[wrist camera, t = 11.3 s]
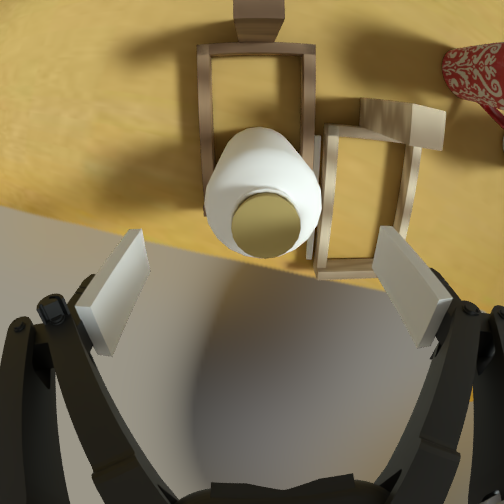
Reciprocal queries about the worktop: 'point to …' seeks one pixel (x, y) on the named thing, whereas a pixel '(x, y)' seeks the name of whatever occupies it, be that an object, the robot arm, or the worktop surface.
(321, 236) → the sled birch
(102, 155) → the worktop surface
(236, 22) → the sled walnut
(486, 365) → the robot arm
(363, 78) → the worktop surface
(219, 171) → the potion bottle
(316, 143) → the lane divider
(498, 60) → the mug
